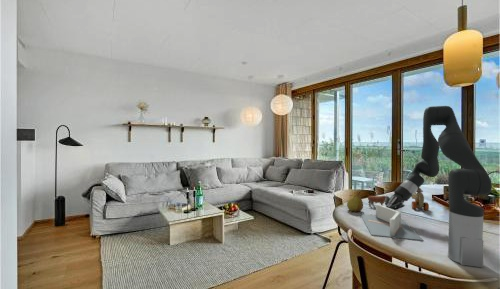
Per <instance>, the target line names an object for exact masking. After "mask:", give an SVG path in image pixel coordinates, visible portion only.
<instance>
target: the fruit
mask: <svg viewBox="0 0 500 289" xmlns="http://www.w3.org/2000/svg"><path fill="white" fill-rule="evenodd" d="M359 194H361V191H359V192H357V193H355V194H353V195H352V196H351V197H350V198H349V199H348V200H347V202H346V203H347V204H346V207H347V209H348V211H350V212H356V213H357V212H361V211H362V210H363V208H364V202H363V199H362V197H361V196H360V195H359Z"/></svg>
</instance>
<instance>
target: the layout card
mask: <svg viewBox="0 0 500 289" xmlns="http://www.w3.org/2000/svg"><path fill="white" fill-rule="evenodd" d="M359 215H360V217H361V218H362V220H363V222H364V225H365V226H366V229H367V230H368V232H369V233H370V236H372V237H374V236H375V237H382V238H383V237H384V238H393V239H403V240H412V241H422V242H424V241H425V240H424V239H423V238H422V237H421V236H420V235H419V234H418V233H417V232H416V231H415V230H414V229H413V228H412V227H411V226H410V225H409V224H408V223H407V222H406V221H405V220H404V219H402V218H401V227H399V228H398V230H397V231H396V232H395V236H391V235H390V223H389V222H387V221H384V220H382V219H380V218H378V217H376V214H367V213H360V214H359Z"/></svg>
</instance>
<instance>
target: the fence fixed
mask: <svg viewBox="0 0 500 289" xmlns="http://www.w3.org/2000/svg"><path fill="white" fill-rule="evenodd" d="M401 219H402V212H401V211H397V212H396V214H395V215H394V216H393V217H392V218H391V219H390V235H391V236H395V232H396V231H397V230H398V228H399V227H401Z"/></svg>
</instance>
